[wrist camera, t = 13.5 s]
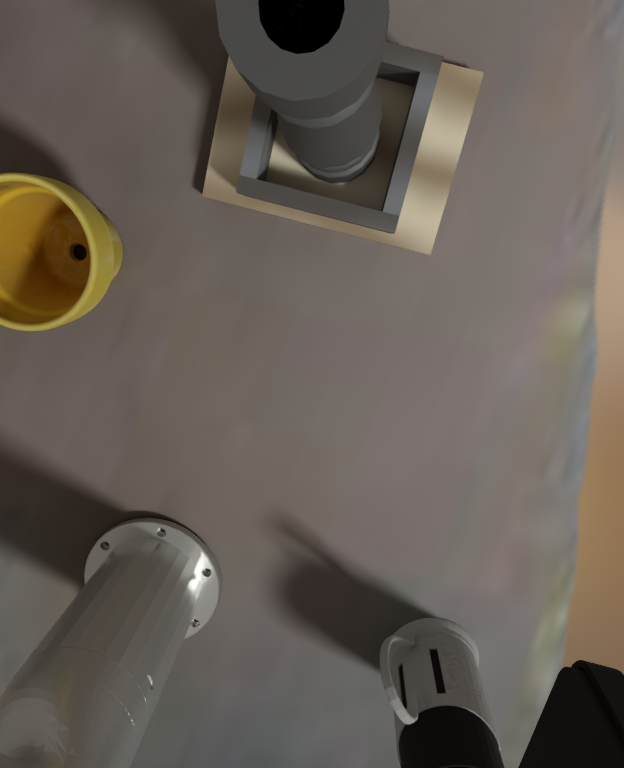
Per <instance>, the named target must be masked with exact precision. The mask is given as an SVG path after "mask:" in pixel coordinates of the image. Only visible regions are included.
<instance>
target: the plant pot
mask: <svg viewBox="0 0 624 768" xmlns="http://www.w3.org/2000/svg"><path fill="white" fill-rule="evenodd" d="M79 244H81V245H82V246H84V247H85V248H86V251H87V255H86V257H85V259H83V260H78V259H77V258H76V257H75V256H74V253H73V251H74V248H75V246H76V245H79ZM122 258H123V249H122V242H121V239H120V236H119V234H118V232H117V230H116V228H115V227H114V225H113V224H112V223H111V222H110V221H109V220H108V219H107V218H106V217H105V216H104V215H103V214H101V213H100V212H99V211H98V210H97V209H96V207H95V206H94V205H93V204H92V203H91V202H90V201H89V200H88V199H87V198H86V197H85V196H84V195H83V194H82V193H80V192H79V191H77V190H76V189H74V188H73V187H71V186H69V185H67V184H65V183H63V182H60V181H58V180H55V179H51V178H48V177H44V176H39V175H34V174H27V173H2V174H0V325H2V326H5V327H8V328H12V329H16V330H21V331H42V330H47V329H51V328H54V327H58V326H61V325H64V324H66V323H69V322H71V321H73V320H75V319H78V318H80V317H81V316H83V315H85V314H86V313H88V312H89V311H90V310H92V309H93V308H94V307H95V306H96V305H97V304H98V303H99V301H100V300H101V299H102V297H103V296H104V294H105V293H106V291H107V289H108V286H109V284H110V282H111V281H112V280H113V279H114V278H115V276H116V275H117V273H118V271H119V269H120V267H121V263H122Z"/></svg>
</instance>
